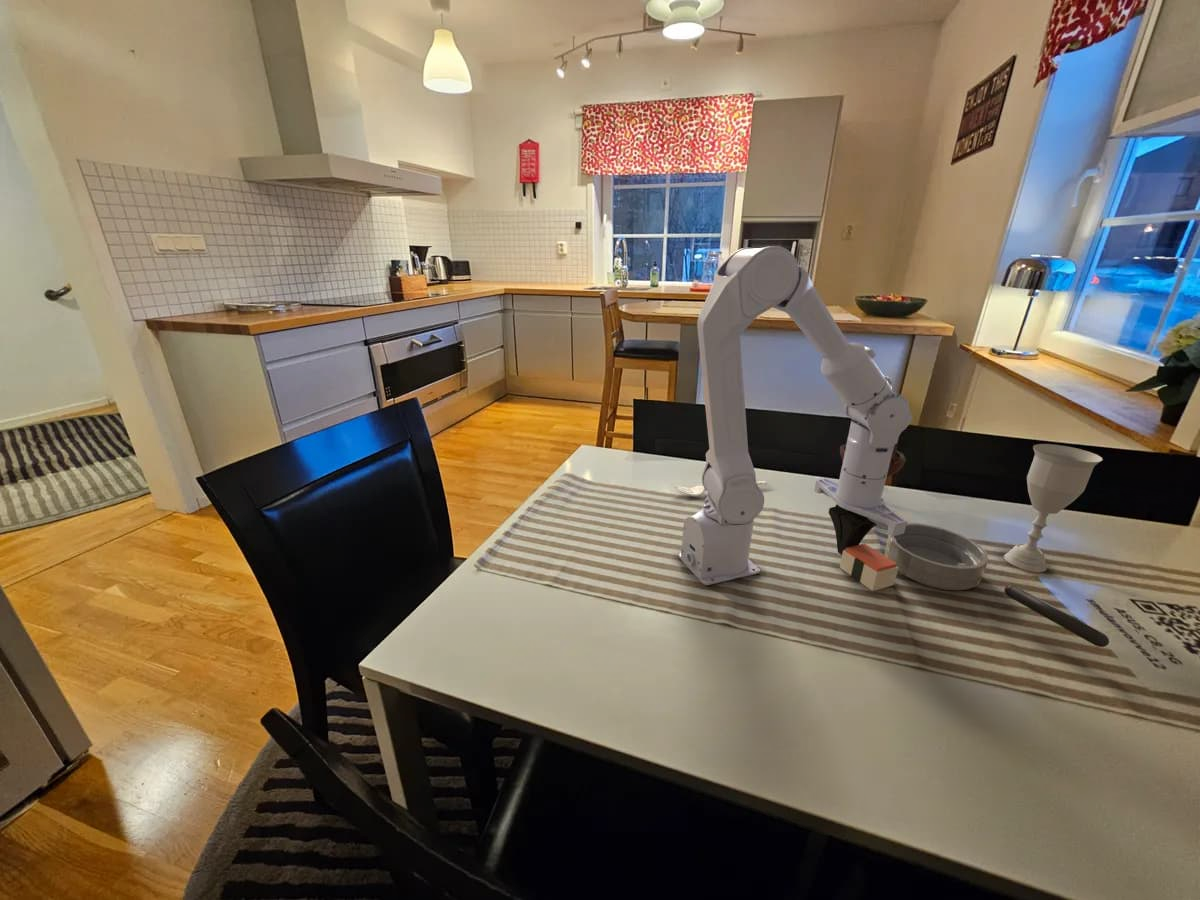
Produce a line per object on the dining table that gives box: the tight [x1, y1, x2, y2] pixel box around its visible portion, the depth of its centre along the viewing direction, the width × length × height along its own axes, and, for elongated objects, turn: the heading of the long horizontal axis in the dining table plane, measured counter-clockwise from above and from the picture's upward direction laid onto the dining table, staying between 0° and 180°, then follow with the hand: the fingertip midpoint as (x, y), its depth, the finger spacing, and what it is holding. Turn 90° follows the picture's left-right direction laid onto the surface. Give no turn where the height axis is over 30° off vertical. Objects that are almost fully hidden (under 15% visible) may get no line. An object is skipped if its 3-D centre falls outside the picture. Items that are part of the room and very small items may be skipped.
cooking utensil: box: [671, 480, 768, 497], centre depth 97 cm, size 3×20×2 cm, turn 103°
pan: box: [883, 522, 989, 591], centre depth 73 cm, size 12×12×4 cm
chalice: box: [1003, 443, 1103, 573], centre depth 71 cm, size 7×7×18 cm
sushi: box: [839, 543, 899, 592], centre depth 70 cm, size 4×6×4 cm
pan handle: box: [1004, 584, 1110, 648], centre depth 59 cm, size 2×11×2 cm, turn 20°
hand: (845, 553), depth 74 cm, fingers closed
